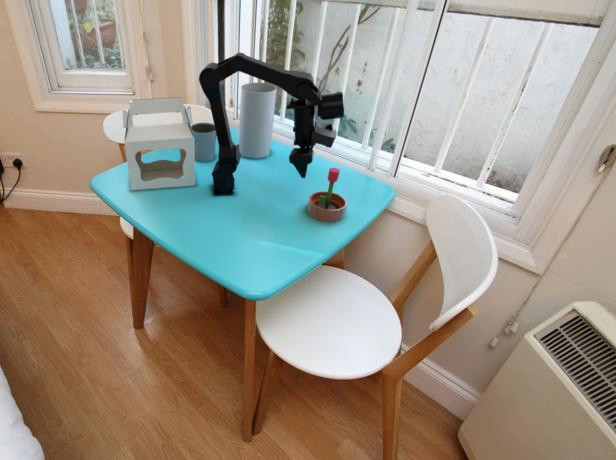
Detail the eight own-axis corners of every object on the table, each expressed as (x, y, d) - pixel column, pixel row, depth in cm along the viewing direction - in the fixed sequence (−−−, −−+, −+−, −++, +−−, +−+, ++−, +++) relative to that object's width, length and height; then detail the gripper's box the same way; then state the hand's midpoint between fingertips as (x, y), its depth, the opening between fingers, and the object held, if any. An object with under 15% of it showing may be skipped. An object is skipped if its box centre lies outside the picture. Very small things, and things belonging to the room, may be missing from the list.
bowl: (313, 224, 109) (316, 211, 106) (302, 204, 117) (304, 192, 114) (349, 222, 109) (352, 209, 106) (335, 203, 118) (338, 190, 115)
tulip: (335, 208, 114) (345, 167, 106) (334, 218, 110) (344, 176, 102) (316, 205, 116) (325, 164, 107) (314, 215, 112) (323, 172, 103)
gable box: (192, 168, 139) (189, 90, 122) (196, 185, 128) (194, 103, 112) (131, 172, 137) (120, 94, 120) (130, 190, 126) (118, 107, 110)
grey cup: (200, 149, 152) (200, 120, 145) (222, 155, 147) (222, 125, 140) (185, 158, 145) (184, 128, 138) (207, 165, 140) (207, 134, 133)
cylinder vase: (272, 159, 143) (279, 92, 129) (239, 159, 144) (242, 93, 129) (267, 145, 153) (273, 82, 139) (236, 146, 154) (239, 82, 139)
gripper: (331, 134, 96) (330, 186, 105) (337, 107, 109) (336, 155, 118) (287, 135, 101) (290, 185, 110) (298, 109, 114) (300, 156, 123)
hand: (305, 170), depth 115 cm, fingers open, 9 cm apart
